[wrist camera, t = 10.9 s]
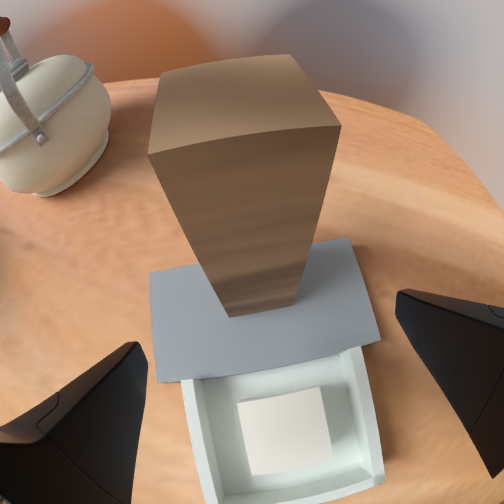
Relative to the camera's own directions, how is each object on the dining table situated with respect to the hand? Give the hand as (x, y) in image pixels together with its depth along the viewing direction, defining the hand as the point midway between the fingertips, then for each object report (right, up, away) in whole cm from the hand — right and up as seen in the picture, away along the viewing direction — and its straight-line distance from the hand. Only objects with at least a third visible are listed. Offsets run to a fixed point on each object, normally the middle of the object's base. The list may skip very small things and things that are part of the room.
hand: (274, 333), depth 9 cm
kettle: (-28, +17, +23) cm, 40 cm away
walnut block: (0, 0, +11) cm, 11 cm away
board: (0, -2, +12) cm, 12 cm away
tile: (+1, -9, +8) cm, 12 cm away
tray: (+2, -10, +8) cm, 13 cm away
